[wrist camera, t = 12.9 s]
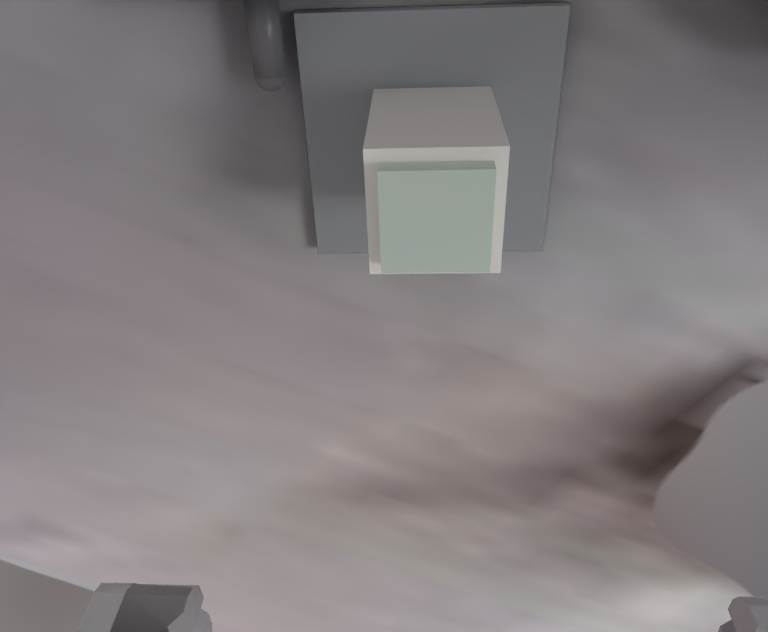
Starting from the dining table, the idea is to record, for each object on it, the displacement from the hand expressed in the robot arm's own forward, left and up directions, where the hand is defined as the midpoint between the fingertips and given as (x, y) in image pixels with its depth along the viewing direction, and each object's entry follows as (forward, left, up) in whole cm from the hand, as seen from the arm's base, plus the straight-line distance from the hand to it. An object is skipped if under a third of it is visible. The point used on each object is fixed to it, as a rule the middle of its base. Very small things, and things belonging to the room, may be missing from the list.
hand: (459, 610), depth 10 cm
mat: (0, 0, -21) cm, 21 cm away
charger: (0, 0, -20) cm, 20 cm away
